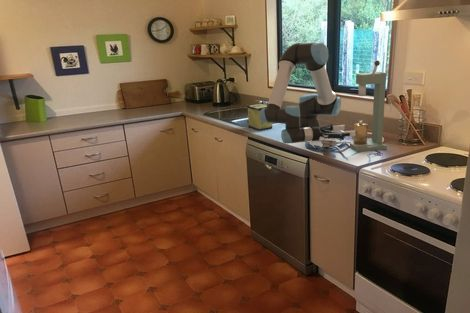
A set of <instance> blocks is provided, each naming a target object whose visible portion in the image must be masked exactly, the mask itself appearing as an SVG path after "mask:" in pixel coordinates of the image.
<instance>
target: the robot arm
mask: <svg viewBox="0 0 470 313" xmlns="http://www.w3.org/2000/svg"><path fill="white" fill-rule="evenodd" d="M328 60H329V49H328V46H327V45H326V43H324V42H322V41H312V42H296V43H293V44H291V45H290V46H288V47H287V48H286V49H285V51H284V52H283V53H282V55H281V57H280V58H279V61H278V69H277V74H276V77H275V79H274V82H273V86H272V89H271V92H270V95H269V99H268V101H267V104H266V105H267V107H266V108H263V109H261V111H260V115H259V116H260V120H261V121H262V122H267V123H272V124H281V125H284V124H285V128H284V129H282V130H281V131H280V132H281V134H280V135H281V136H280V137H281V141H282V143H284V144H298V143H307V142H316V141H319V140H320V139H321V138H323V139H342V140H344V138H349V137H354V136H355V131H354V130H348V131H346V130H345V126H346V125H345V124H341V125H333V124H329V125H325V126H321V125H320V121H319V118H318V117H319V116H321V115H322V116H338V115H339V113H340V110H341V107H342V97H341V96H337V94H336V92H334V91H333V90H332V87H331V83H330V79H329V76H328V72H327V69H326V64H327V63H328ZM298 65H304V66H305V69H306V70H307V71H309V73H310V75H311V76H310V77H311V78H312V82H313V84H314V88H315V91H316V93H308V94H307V93H306V94H303V95H301V96H300V97H299V99H298V100H299V101H298V105H295V104H294V105H286V106H285V107H284V108H282V105H283V102H284V98H285V96H286V94H287V93H286V92H287V89H288V85H289V84H290V79H291V77H292V74H293V71H295V70H296V67H297V66H298ZM318 115H319V116H318ZM339 131H340V132H339ZM341 131H342V132H341Z"/></svg>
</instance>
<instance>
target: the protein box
mask: <svg viewBox="0 0 470 313" xmlns="http://www.w3.org/2000/svg"><path fill="white" fill-rule="evenodd" d="M266 107H267V104H262V103H257V104H250V105H247V119H248V128H250V129H252V130H255V131H258V132H262V131H267V130H271V129H273V123H267V122H262V121H261V120H260V116H259V115H260V111H261V109H263V108H266Z"/></svg>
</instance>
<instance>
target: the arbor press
mask: <svg viewBox="0 0 470 313" xmlns="http://www.w3.org/2000/svg"><path fill="white" fill-rule="evenodd" d="M373 64H374V66H373V70H372V72H362V73H355V84H356V85H358V95H357V96H359V97H366V96H367V85H374V86H373V88H374V89H373V91H374V92H373V106H372V107H373V108H372V124H371V125H372V127H371V128H372V130H371V137H369V138H368V137H367V144H364V145H357V144H354V143H353V139H349V140H350V141H351V143H350V147H351V149H352V150H354V151H355V152H356V153H362V152H374V151H382V150H383V151H385V150H387V149H388V145H387V144H385V143H383V137H384V134H383V133H384V119H385V118H384V117H385V104H386V103H385V102H386V86H387V84H386V83H387V72H384V71H377V69H378V67H379V66H380V64H381V61H380V60H375V61H374V63H373ZM350 147H349V148H350Z"/></svg>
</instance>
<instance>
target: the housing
mask: <svg viewBox="0 0 470 313" xmlns="http://www.w3.org/2000/svg"><path fill="white" fill-rule="evenodd" d="M368 126H369V124H368V123H366V122H365V123H364V122H363V120H359V121H358V122H357V123H354V124H353V131H355V136H353V139H352V140H353V143H354V144H357V145H364V144H367V138H368V128H369V127H368Z"/></svg>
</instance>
